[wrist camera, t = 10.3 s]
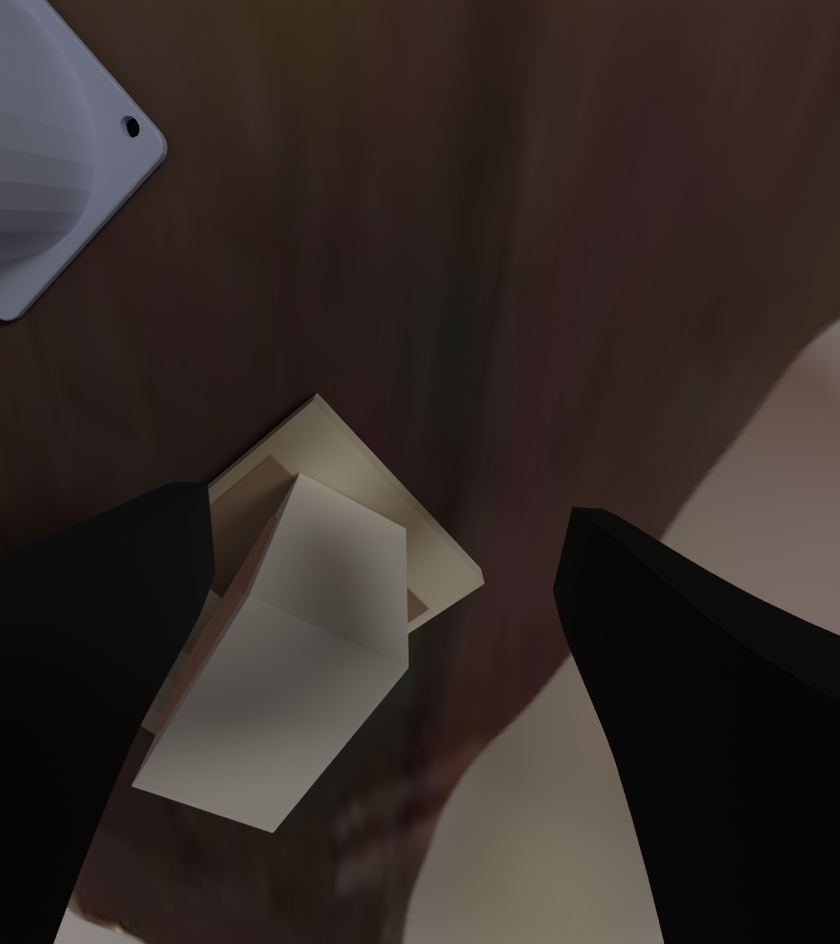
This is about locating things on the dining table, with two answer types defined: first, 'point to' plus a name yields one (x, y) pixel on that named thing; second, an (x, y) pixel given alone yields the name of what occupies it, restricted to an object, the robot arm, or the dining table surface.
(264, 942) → the dining table surface
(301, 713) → the carton
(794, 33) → the dining table surface
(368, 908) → the dining table surface
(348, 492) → the cream tray
